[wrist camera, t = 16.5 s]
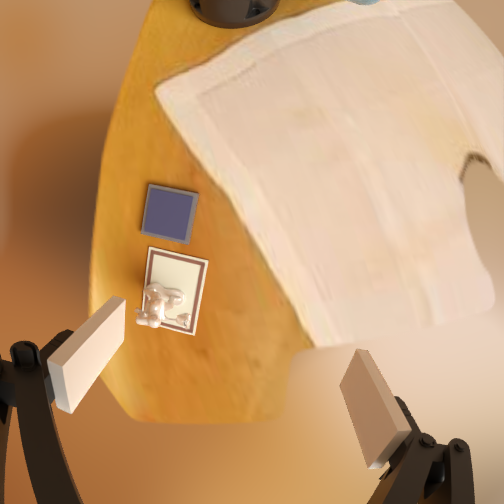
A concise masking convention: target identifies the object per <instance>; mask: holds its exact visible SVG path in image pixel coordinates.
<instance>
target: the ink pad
mask: <svg viewBox="0 0 504 504" xmlns="http://www.w3.org/2000/svg"><path fill="white" fill-rule="evenodd" d="M198 198H199V193H195V192H190V191H185V190H180V189H175V188H170V187H165V186H160V185H155V184H149V187H148V193H147V198H146V204H145V210H144V217H143V223H142V230H141V234H144V235H148V236H153V237H157V238H161V239H165V240H170V241H174V242H178V243H183V244H187V245H188V244H189V243H190V238H191V233H192V228H193V222H194V217H195V212H196V207H197V202H198Z"/></svg>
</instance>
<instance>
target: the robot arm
mask: <svg viewBox="0 0 504 504" xmlns="http://www.w3.org/2000/svg"><path fill="white" fill-rule="evenodd" d="M279 1H280V0H189V2H190V5H191V7H192V10H193V12H194V13H195V15H196V16H197V17H198V18H199V19H200V20H202V21H203V22H205V23H207V24H209V25H212V26H215V27H220V28H229V29H234V28H243V27H248V26H252V25H255V24H257V23H260V22H262V21H263V20H265V19H267V18H268V17H269V16H270V15H271V14H273V12H274V11H275V10H276V8H277V7H278V4H279ZM347 1H350V2H353V3H356V4H359V5H372V4H374V3H376V2H378V1H380V0H347ZM125 303H126V299H123V298H120V297H116V296H113V297H112V298H110V299H109V300H108V301H107V302H106V303H105V304H104V305H103V306H102V307H101V308H100V309H98V310H97V311H96V312H95V313H94V314H93V315H92V316H91V317H90V318H89V319H88V320H87V321H86V322H85V323H84V324H83V325H82V326H81V327H80V328H79V329H77V330H76V331H75V332H73V331H71V330H68V329H67V330H65V331H62V332H60V333H58V334H57V335H56V336H55V337H54V338H53V339H52V340H51V341H50V342H49V343H48V344H47V345H45V346H44V347H43V348H42V349H41V350H40V351H39V349H38V347H37V345H35V344H34V343H32V342H30V341H19V342H16V343H14V344H13V345H12V346H11V348H10V354H11V358H12V362H10V361H6V360H2V359H1V355H0V504H4V480H5V479H4V478H5V462H6V451H7V450H6V449H7V441H8V433H9V426H10V420H11V414H12V408H13V407H17V414H18V421H19V428H20V434H21V440H22V445H23V450H24V455H25V460H26V464H27V468H28V472H29V476H30V480H31V483H32V487H33V490H34V493H35V497H36V500H37V503H38V504H84V503H83V501H82V499H81V497H80V494H79V492H78V489H77V487H76V485H75V482H74V479H73V477H72V474H71V471H70V469H69V466H68V463H67V460H66V457H65V454H64V452H63V448H62V445H61V441H60V438H59V435H58V431H57V427H56V424H55V420H54V416H53V412H52V408H51V403H52V402H53V400H54V399H55V400H56V405H57V408H59V409H61V410H64V411H66V412H68V413H70V414H72V413H73V411H74V410H75V408H76V407H77V405H78V404H79V402H80V401H81V399H82V398H83V397H84V395H85V394H86V392H87V391H88V389H89V388H90V387H91V385H92V384H93V382H94V381H95V379H96V378H97V377H98V375H99V374H100V373H101V371H102V370H103V368H104V367H105V366H106V364H107V363H108V361H109V360H110V359H111V357H112V356H113V355H114V353H115V352H116V350H117V349H118V348H119V346H120V345H121V344H122V342H123V341H124V321H125ZM340 388H341V391H342V394H343V397H344V400H345V402H346V405H347V408H348V411H349V414H350V417H351V420H352V423H353V426H354V428H355V431H356V434H357V437H358V440H359V443H360V446H361V449H362V452H363V455H364V458H365V462H366V464H367V468H368V469H375V468H382V467H383V466H384V465H385V463H386V462H387V461H389V464H390V467H389V468H388V469H387V471H386V472H385V473H384V474H383V475H382V476H381V477H380V478H379V479H380V480H381V479H382V480H381V481H380V483H379V485H378V487H377V488H376V490H375V492H374V493H373V495H372V496H371V498H370V500H369V501H368V503H367V504H475V496H474V482H473V471H472V463H471V455H470V449H469V446H468V444H467V443H466V442H465V441H463V440H461V439H457V438H454V439H452V440H451V441H450V442H449V444H448V445H442V444H437V443H436V440H435V439H434V438H433V437H432V436H430V435H429V434H426V433H421V431H420V429H419V427H418V426H417V424H416V422H415V420H414V419H413V417H412V416H411V413H410V411H409V410H408V408H407V406H406V404H405V402H403V401H402V400H401V399H400V398H399V397H397V396H393V394H392V392H391V390H390V388H389V387H388V385H387V383H386V381H385V379H384V378H383V376H382V374H381V372H380V371H379V369H378V367H377V366H376V364H375V362H374V360H373V358H372V357H371V355H370V353H369V351H368V350H361V349H356V351H355V354H354V356H353V358H352V360H351V362H350V364H349V367H348V369H347V371H346V373H345V375H344V377H343V379H342V381H341V383H340ZM417 502H418V503H417Z"/></svg>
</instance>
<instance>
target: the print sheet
mask: <svg viewBox="0 0 504 504" xmlns="http://www.w3.org/2000/svg"><path fill="white" fill-rule="evenodd" d="M208 261H209V260H205V259H201V258H197V257H192V256H188V255H184V254H180V253H176V252H171V251H167V250H163V249H159V248H155V247H151V246H150V247H149V252H148V259H147V267H146V276H145V285H144V289H146V287H147V286H148V285H149V284H151V283H159V284H160V285H162V286H163V287H164V288H166V289H178V290H181V291H182V292H183V293H184V294H185V301H184V303H183V304H182V305H180V306H176V305H174V306H173V308H172V309H170V310H167V311H165V315H166V317H168V318H172V319H176V316H177V315H179V314H184V313H189V314H190V315H191V319H190V320H191V322H190V325H189V326H188V328H187V330H186V329H185V328H184V326H182V325H180V324H178V323H177V322H176V321H162V320H161V324H160V327H164V328H167V329H171V330H175V331H179V332H182V333H186V334H190V335H195V331H196V325H197V319H198V314H199V308H200V303H201V297H202V292H203V286H204V281H205V276H206V271H207V266H208ZM147 300H150V298H148V297H147V295H146V294H144V295H143V305H142V311H144V310H145V306H146V303H147ZM163 300H164V302H167V301H168V300H169V299H163Z"/></svg>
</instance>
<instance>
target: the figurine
mask: <svg viewBox="0 0 504 504" xmlns="http://www.w3.org/2000/svg"><path fill="white" fill-rule="evenodd" d="M143 293H144V294H146V295H147V297H148V298H150V300H147V303H146V306H145V310H144V311H142V310H140V309H139V308H136V309H135V312H137V313H138V315H137V317H136V323H137V324H140V325H149V326H150V327H152V328H157V327H159V326H160V324H161V320H162V321H176V322H177V323H178V324H180V325H182V326H184V328H185V329H186V330H187V328H188V326H189V325H190V322H191V320H190V319H191V315H190V314H189V313H184V314H179V315H177V316H176V319H172V318H168V317H166V315H165V311H167V310H170V309H172V308H173V306H174V305H176V306H180V305H182V304H183V303H184V301H185V294H184V293H183V292H182V291H181V290H178V289H166V288H164V287H163V286H162V285H160V284H159V283H151V284H149V285H148V286H147V287H146V289H144V290H143ZM163 299H169V300H168V301H167V302H164V300H163Z"/></svg>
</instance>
